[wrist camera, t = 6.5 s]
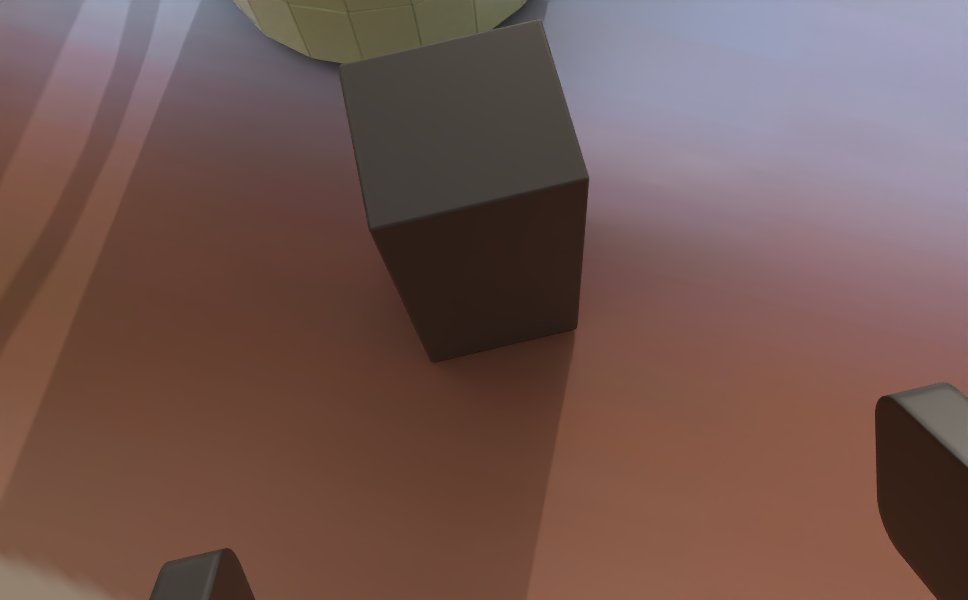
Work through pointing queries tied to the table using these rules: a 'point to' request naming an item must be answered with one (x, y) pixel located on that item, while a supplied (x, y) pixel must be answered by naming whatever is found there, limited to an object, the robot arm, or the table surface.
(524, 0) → the bowl
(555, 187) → the dark rectangular block
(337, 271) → the table surface
